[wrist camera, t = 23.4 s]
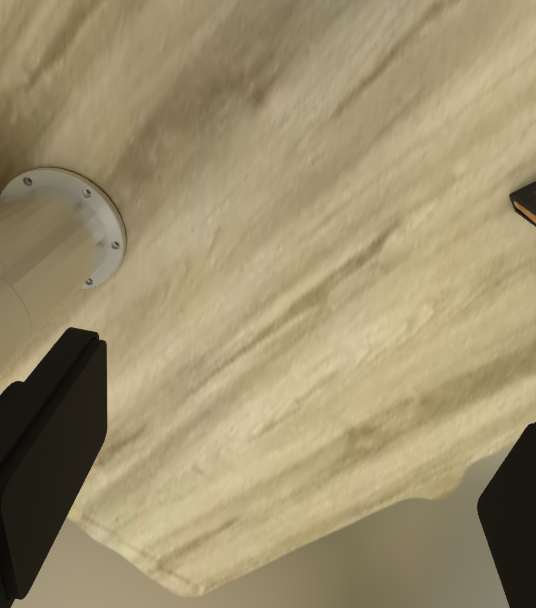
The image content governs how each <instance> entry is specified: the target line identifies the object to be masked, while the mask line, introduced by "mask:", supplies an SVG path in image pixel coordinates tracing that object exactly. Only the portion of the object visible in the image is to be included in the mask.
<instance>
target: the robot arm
mask: <svg viewBox="0 0 536 608" xmlns="http://www.w3.org/2000/svg"><path fill="white" fill-rule="evenodd" d="M88 190H89V191H90V192H91V193H90V192H89V191H88ZM117 242H118V243H119V244H118V243H117ZM125 252H126V234H125V228H124V225H123V222H122V219H121V217H120V215H119V213H118V211H117V209H116V207H115V206H114V205H113V203H112V202H111V201H110V199H109V198H108V197H107V196H106V195H105V194H104V193H103V192H102V191H101V190H100V189H99V188H98V187H97V186H96V185H94V184H93V183H91V182H90V181H89V180H87V179H86V178H84V177H82V176H80V175H77V174H75V173H73V172H70V171H67V170H63V169H59V168H49V167H47V168H36V169H33V170H30V171H27V172H24V173H23V174H21V175H19V176H17V177H15V178H14V179H13V180H12V181H10V182H9V183H8V184H7V185H6V187H5V188H4V190H3V191H2V192H1V195H0V378H1V377H2V375H3V374H4V373H5V372H6V371H7V370H8V368H9V367H10V366H11V365H12V364H13V363H14V362H15V360H16V359H17V358H18V357H19V356H20V355H21V354H22V353H23V351H24V350H25V349H26V348H27V347H28V346H29V345H30V344H31V342H32V341H33V340H34V339H35V338H36V337H37V336H38V335H39V334H40V332H41V331H42V330H43V329H44V328H45V327H46V326H47V325H48V323H49V322H50V321H51V320H52V319H53V318H54V317H55V316H56V314H57V313H58V312H59V311H60V310H61V309H62V308H63V307H64V305H65V304H66V303H67V302H68V301H69V300H70V299H71V298H72V297H73V295H74V294H75V293H76V292H77V291H78V290H81V289H88V288H92V287H96V286H98V285H100V284H102V283H104V282H106V281H107V280H108V279H109V278H110V277H112V276H113V274H114V273H115V272H116V271H117V270H118V268H119V266H120V265H121V263H122V261H123V258H124V255H125ZM106 433H107V345H106V341H104V340H99V335H98V333H97V332H93V331H88V330H83V329H78V328H72V327H70V328H68V329H67V330H66V331H65V332H64V333H63V335H62V336H61V337H60V338H59V340H58V341H57V342H56V343H55V344H54V346H53V347H52V348H51V349H50V351H49V352H48V353H47V354H46V356H45V357H44V358H43V359H42V360H41V362H40V363H39V364H38V365H37V367H36V368H35V369H34V370H33V372H32V373H31V374H30V375H29V376H28V378H27V379H26V380H25V381H24V382H21V381H16V382H13V383H11V384H10V385H9V386H8V387H7V388H6V389H5V390H4V391H3V393H2V394H1V395H0V608H11V606H12V604H13V602H14V600H15V599H20V600H21V599H23V598H25V596H26V595H27V594H28V592H29V590H30V588H31V586H32V584H33V582H34V580H35V578H36V577H37V575H38V572H39V571H40V569H41V567H42V564H43V562H44V560H45V559H46V557H47V555H48V553H49V550H50V548H51V547H52V545H53V543H54V541H55V539H56V537H57V535H58V533H59V531H60V529H61V526H62V525H63V522H64V521H65V519H66V517H67V515H68V513H69V511H70V509H71V507H72V505H73V503H74V501H75V499H76V497H77V495H78V493H79V491H80V489H81V487H82V485H83V483H84V481H85V479H86V477H87V475H88V473H89V471H90V469H91V467H92V465H93V463H94V461H95V459H96V457H97V455H98V453H99V451H100V449H101V447H102V445H103V443H104V440H105V437H106ZM477 510H478V515H479V519H480V522H481V524H482V527H483V530H484V533H485V536H486V539H487V542H488V545H489V548H490V551H491V554H492V557H493V559H494V562H495V565H496V568H497V571H498V574H499V577H500V580H501V583H502V586H503V589H504V592H505V595H506V598H507V601H508V604H509V607H510V608H536V422H535V423H531V424H529V425H528V426H527V427H526V429H525V430H524V432H523V433H522V435H521V436H520V438H519V439H518V441H517V442H516V444H515V445H514V447H513V448H512V450H511V451H510V453H509V454H508V456H507V457H506V459H505V460H504V461H503V463H502V464H501V466H500V467H499V469H498V471H497V472H496V474H495V475H494V477H493V478H492V480H491V481H490V483H489V484H488V486H487V487H486V488H485V490H484V492H483V493H482V494H481V496H480V498H479V500H478V504H477Z"/></svg>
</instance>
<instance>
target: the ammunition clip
mask: <svg viewBox="0 0 536 608" xmlns="http://www.w3.org/2000/svg"><path fill="white" fill-rule="evenodd" d="M510 199H511V202H512V204H513V207H514V209H515V212H517V213H518V214H519V215H521V216H522V217H523V218H525V219H526V220H527V221H529V222H530V223H531V224H533V225H534V226H535V227H536V181H535V182H533V183H531V184H529V185H527V186H525V187H523V188H521V189H519V190H517V191H515V192H513V193H511V194H510Z"/></svg>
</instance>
